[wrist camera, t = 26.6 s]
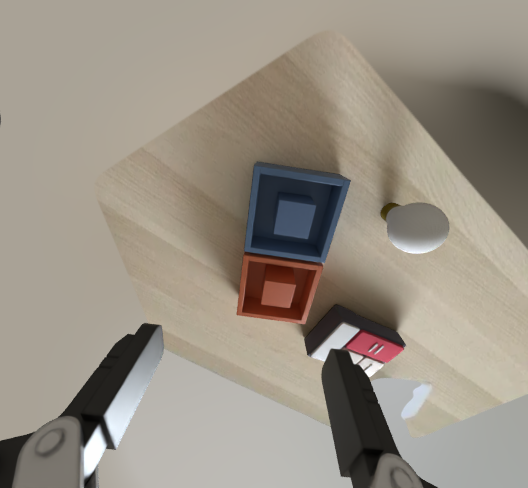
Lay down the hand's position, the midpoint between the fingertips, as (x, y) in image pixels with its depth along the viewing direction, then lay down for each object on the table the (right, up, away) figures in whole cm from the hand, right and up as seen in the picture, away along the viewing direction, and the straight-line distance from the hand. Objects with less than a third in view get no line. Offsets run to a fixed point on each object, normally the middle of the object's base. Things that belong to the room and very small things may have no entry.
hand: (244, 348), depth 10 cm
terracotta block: (+3, -1, +27) cm, 27 cm away
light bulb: (+19, +10, +21) cm, 30 cm away
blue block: (+5, +10, +21) cm, 24 cm away
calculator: (+18, -13, +33) cm, 40 cm away
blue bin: (+5, +10, +22) cm, 24 cm away
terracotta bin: (+3, -1, +27) cm, 27 cm away
